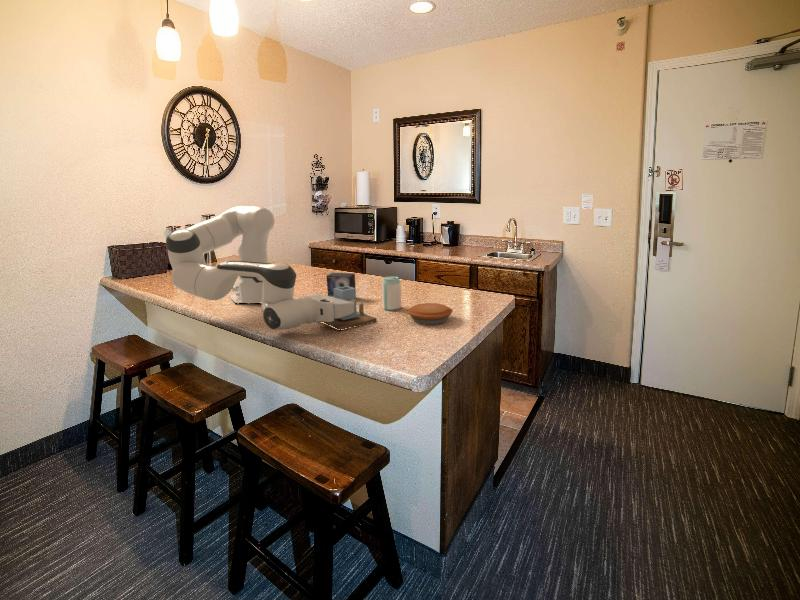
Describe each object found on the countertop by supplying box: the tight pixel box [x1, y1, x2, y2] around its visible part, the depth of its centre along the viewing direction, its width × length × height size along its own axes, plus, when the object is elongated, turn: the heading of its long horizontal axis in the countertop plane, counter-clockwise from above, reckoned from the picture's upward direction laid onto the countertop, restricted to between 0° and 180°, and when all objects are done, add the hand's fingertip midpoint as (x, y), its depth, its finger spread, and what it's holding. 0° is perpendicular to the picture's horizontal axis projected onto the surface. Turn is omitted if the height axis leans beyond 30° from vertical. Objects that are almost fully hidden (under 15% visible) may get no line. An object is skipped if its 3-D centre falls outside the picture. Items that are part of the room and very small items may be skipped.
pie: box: [407, 302, 453, 326], centre depth 156 cm, size 15×16×5 cm
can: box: [381, 275, 402, 311], centre depth 171 cm, size 7×7×12 cm
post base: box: [324, 302, 378, 330], centre depth 156 cm, size 15×15×6 cm
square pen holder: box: [334, 286, 361, 320], centre depth 155 cm, size 7×7×10 cm
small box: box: [326, 272, 356, 297], centre depth 188 cm, size 11×6×10 cm, turn 73°
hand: (347, 299), depth 156 cm, fingers closed on square pen holder, 5 cm apart
